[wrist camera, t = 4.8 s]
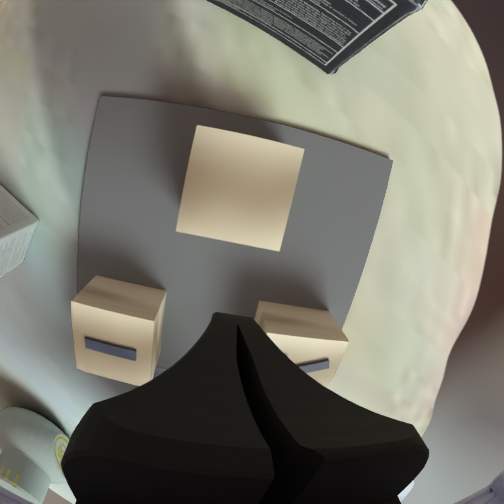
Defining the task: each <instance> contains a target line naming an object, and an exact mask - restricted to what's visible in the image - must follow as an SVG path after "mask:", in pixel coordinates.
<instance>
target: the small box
mask: <svg viewBox="0 0 504 504" xmlns="http://www.w3.org/2000/svg"><path fill="white" fill-rule="evenodd" d="M207 1H209V2H211V3H213V4H215V5H217V6H219V7H221V8H223V9H225V10H227V11H229V12H231V13H233V14H235V15H237V16H238V17H240V18H242V19H244V20H246V21H248V22H249V23H251V24H253V25H255V26H256V27H258V28H260V29H262V30H263V31H265V32H266V33H268V34H270V35H271V36H273V37H275V38H276V39H278V40H279V41H281V42H283V43H284V44H286V45H287V46H289V47H290V48H292V49H293V50H295V51H296V52H298V53H299V54H301V55H302V56H303V57H305V58H306V59H308V60H309V61H311V62H312V63H314V64H315V65H316V66H318V67H319V68H321V69H322V70H323V71H325V72H326V73H327V74H333V73H336V72H337V70H338V68H339V67H340V66H342V65H343V64H344V63H345V62H347V61H348V60H349V59H350V58H352V57H353V56H354V55H356V54H357V53H359V52H360V51H361V50H362V49H364V48H365V47H366V46H367V45H369V44H370V43H372V42H373V41H374V40H376V39H377V38H378V37H379V36H381V35H382V34H384V33H385V32H386V31H388V30H389V29H390V28H392V27H393V26H395V25H396V24H397V23H399V22H400V21H402V20H403V19H405V18H406V17H407V16H409V15H411V14H413V13H415V12H417V11H419V10H421V9H422V8H423V7H424V5H425V3H426V2H427V0H207Z"/></svg>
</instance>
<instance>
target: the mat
mask: <svg viewBox="0 0 504 504" xmlns="http://www.w3.org/2000/svg"><path fill="white" fill-rule="evenodd" d="M197 125H200V126H206V127H211V128H216V129H222V130H227V131H232V132H236V133H241V134H246V135H250V136H255V137H259V138H263V139H267V140H272V141H276V142H280V143H284V144H288V145H291V146H295V147H299V148H303V149H305V150H304V154H303V158H302V162H301V167H300V171H299V175H298V179H297V183H296V187H295V192H294V196H293V200H292V204H291V208H290V212H289V216H288V220H287V224H286V228H285V232H284V236H283V240H282V244H281V247H280V251H274V250H269V249H264V248H259V247H254V246H249V245H244V244H239V243H233V242H228V241H223V240H218V239H213V238H208V237H202V236H197V235H192V234H187V233H182V232H177V231H176V227H177V221H178V215H179V209H180V204H181V199H182V193H183V188H184V183H185V178H186V173H187V168H188V163H189V158H190V154H191V149H192V145H193V140H194V136H195V131H196V127H197ZM392 163H393V160H390V159H388V158H385V157H382V156H380V155H377V154H374V153H372V152H369V151H366V150H363V149H360V148H358V147H355V146H352V145H349V144H346V143H343V142H340V141H337V140H333V139H330V138H327V137H324V136H321V135H317V134H314V133H310V132H307V131H303V130H300V129H296V128H293V127H289V126H285V125H281V124H277V123H273V122H269V121H265V120H261V119H257V118H252V117H248V116H243V115H239V114H234V113H229V112H224V111H219V110H213V109H208V108H202V107H196V106H190V105H183V104H176V103H169V102H161V101H153V100H144V99H134V98H123V97H109V96H100V100H99V104H98V108H97V112H96V117H95V121H94V126H93V131H92V135H91V141H90V146H89V152H88V157H87V164H86V170H85V177H84V184H83V193H82V201H81V212H80V223H79V238H78V262H77V294H78V293H79V292H80V291H81V290H82V289H83V288H84V287H85V286H86V285H87V284H88V283H89V282H90V281H91V280H92V279H93V278H94V277H95V276H96V275H97V276H101V277H106V278H110V279H114V280H119V281H123V282H128V283H132V284H137V285H142V286H146V287H151V288H156V289H161V290H166V291H167V293H166V301H165V310H164V319H163V328H162V339H161V350H160V355H159V358H158V362H157V365H156V367H158V368H163V369H168V368H170V367H171V366H172V365H174V364H175V363H176V362H177V361H178V360H180V359H181V358H182V357H183V356H184V355H185V354H186V353H187V352H188V351H189V350H190V349H191V348H192V346H193V345H194V344H195V343H196V342H197V341H198V340H199V338H200V337H201V336H202V334H203V333H204V331H205V330H206V328H207V327H208V325H209V323H210V321H211V319H212V314H214V313H215V312H221V313H227V314H233V315H239V316H245V317H251V318H253V319H255V315H256V311H257V307H258V304H259V300H260V301H266V302H272V303H279V304H285V305H292V306H298V307H305V308H312V309H319V310H326V311H330V313H331V315H332V316H333V318H334V319H335V321H336V322H337V324H338V325H339V327H340V328H341V330H342V327H343V325H344V322H345V319H346V317H347V314H348V311H349V309H350V306H351V303H352V300H353V298H354V295H355V292H356V289H357V286H358V283H359V281H360V278H361V275H362V272H363V269H364V265H365V262H366V259H367V256H368V253H369V250H370V246H371V243H372V240H373V236H374V233H375V230H376V226H377V223H378V219H379V215H380V212H381V208H382V204H383V200H384V197H385V193H386V189H387V185H388V180H389V176H390V172H391V168H392Z"/></svg>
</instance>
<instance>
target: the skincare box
mask: <svg viewBox="0 0 504 504" xmlns="http://www.w3.org/2000/svg"><path fill="white" fill-rule="evenodd" d="M38 222H39V220H38V218H36V217H35V216H34V215H33V214H32V213H31V212H29V211H28V210H27V209H26V208H25V207H24V206H23V205H22V204H20V203H19V202H18V201H17V200H16V199H15V198H14V197H13V196H12V195H11V194H10V193H9V192H8V191H6V190H5V189H4V188H3V187H2V186H1V185H0V278H1V277H2V276H4V275H5V274H7V273H8V272H10V271H11V270H13V269H14V268H16V267H17V266H19V265H20V264H21V263H22V262H23V261H24V258H25V255H26V252H27V249H28V246H29V244H30V241H31V239H32V236H33V234H34V231H35V229H36V227H37V224H38Z"/></svg>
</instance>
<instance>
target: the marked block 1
mask: <svg viewBox="0 0 504 504" xmlns="http://www.w3.org/2000/svg"><path fill="white" fill-rule="evenodd" d="M166 293H167V291H166V290H161V289H156V288H151V287H146V286H142V285H137V284H132V283H128V282H123V281H119V280H114V279H110V278H106V277H101V276H97V275H96V276H95V277H94V278H93V279H92V280H91V281H90V282H89V283H88V284H87V285H86V286H85V287H84V288H83V289H82V290H81V291H80V292H79V293H78V294H77V295H76V296H75V297H74V298H73V299H72V300H71V313H72V329H73V341H74V351H75V360H76V368H77V369H79V370H82V371H85V372H88V373H92V374H95V375H98V376H102V377H106V378H109V379H113V380H117V381H121V382H125V383H129V384H133V385H137V386H141V385H143V384H145V383H147V382H149V381H151V380H152V379H153V376H154V372H155V369H156V365H157V362H158V358H159V355H160V350H161V339H162V328H163V319H164V310H165V301H166Z"/></svg>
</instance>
